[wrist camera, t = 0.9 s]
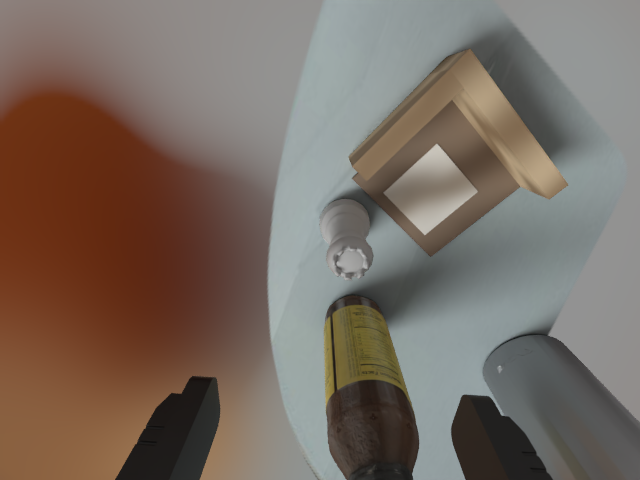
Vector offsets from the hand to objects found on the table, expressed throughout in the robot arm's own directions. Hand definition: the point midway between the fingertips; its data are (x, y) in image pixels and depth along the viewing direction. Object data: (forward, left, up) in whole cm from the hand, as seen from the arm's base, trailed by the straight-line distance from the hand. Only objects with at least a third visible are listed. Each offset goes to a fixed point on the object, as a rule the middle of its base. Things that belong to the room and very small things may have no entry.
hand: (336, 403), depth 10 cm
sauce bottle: (-10, +6, -19) cm, 22 cm away
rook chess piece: (-2, 0, -19) cm, 19 cm away
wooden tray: (-4, -9, -19) cm, 21 cm away
